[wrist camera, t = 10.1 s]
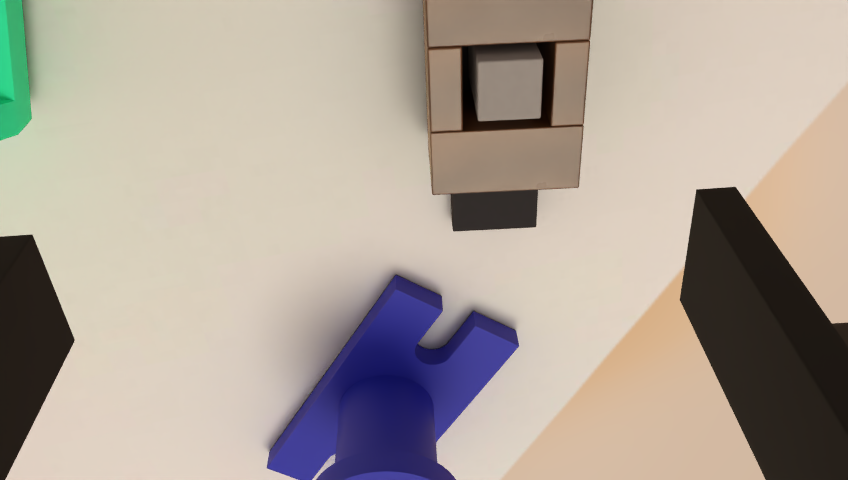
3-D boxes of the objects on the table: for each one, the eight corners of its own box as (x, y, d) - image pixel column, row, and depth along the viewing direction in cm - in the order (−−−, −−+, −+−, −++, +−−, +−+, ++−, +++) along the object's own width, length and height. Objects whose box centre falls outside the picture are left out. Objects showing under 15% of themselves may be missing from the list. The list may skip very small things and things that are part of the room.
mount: (379, 491, 50) (377, 625, 43) (269, 451, 48) (247, 585, 40) (516, 330, 43) (541, 456, 36) (395, 274, 41) (396, 396, 34)
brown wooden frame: (420, -58, 31) (424, -30, 28) (574, -65, 31) (596, -38, 28) (428, 150, 36) (432, 195, 33) (561, 144, 36) (578, 188, 33)
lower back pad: (442, -196, 29) (451, -179, 25) (551, -201, 29) (580, -185, 25) (451, 220, 39) (459, 288, 35) (533, 216, 39) (552, 283, 35)
